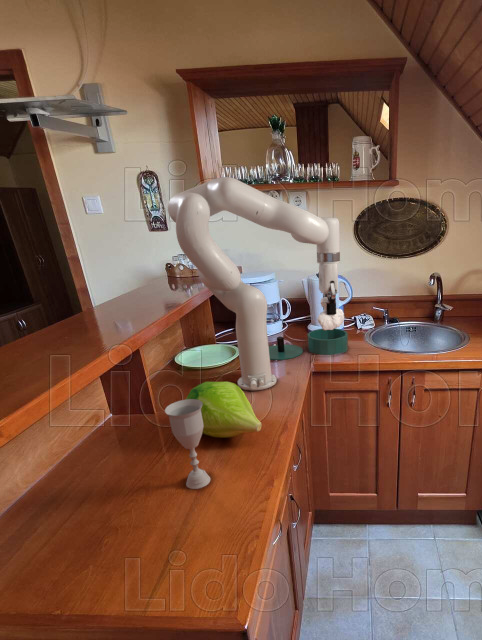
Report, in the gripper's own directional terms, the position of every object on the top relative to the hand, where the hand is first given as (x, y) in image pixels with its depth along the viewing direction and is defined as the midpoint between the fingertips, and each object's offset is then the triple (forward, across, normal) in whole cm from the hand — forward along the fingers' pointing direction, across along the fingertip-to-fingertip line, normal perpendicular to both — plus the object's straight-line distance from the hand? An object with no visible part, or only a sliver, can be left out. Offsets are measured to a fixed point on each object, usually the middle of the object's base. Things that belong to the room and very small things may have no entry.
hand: (329, 311), depth 144 cm
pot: (+19, -16, +2) cm, 25 cm away
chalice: (+20, +60, -42) cm, 76 cm away
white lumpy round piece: (+5, 0, 0) cm, 5 cm away
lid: (+19, -16, -16) cm, 29 cm away
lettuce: (+20, +41, -36) cm, 58 cm away
